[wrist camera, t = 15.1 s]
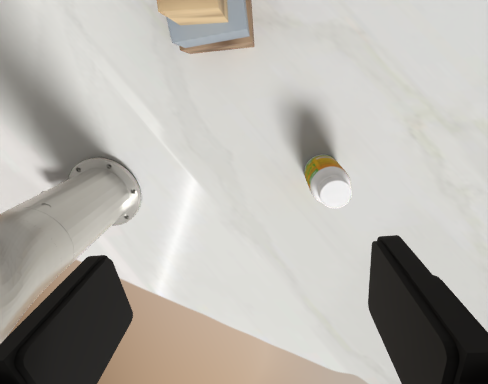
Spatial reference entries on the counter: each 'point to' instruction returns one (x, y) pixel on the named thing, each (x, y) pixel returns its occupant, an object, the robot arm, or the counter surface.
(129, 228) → the counter surface
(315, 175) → the supplement bottle
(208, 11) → the oak block
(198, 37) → the grey square block
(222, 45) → the tower base
